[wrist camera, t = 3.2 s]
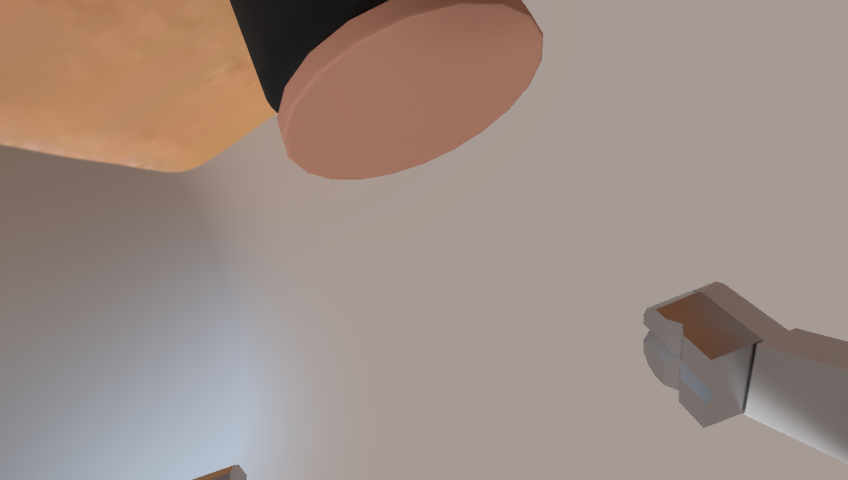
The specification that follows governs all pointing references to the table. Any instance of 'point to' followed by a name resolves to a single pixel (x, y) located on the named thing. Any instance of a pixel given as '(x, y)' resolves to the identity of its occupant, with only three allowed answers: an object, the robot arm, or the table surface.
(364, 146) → the coffee jar
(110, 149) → the table surface
